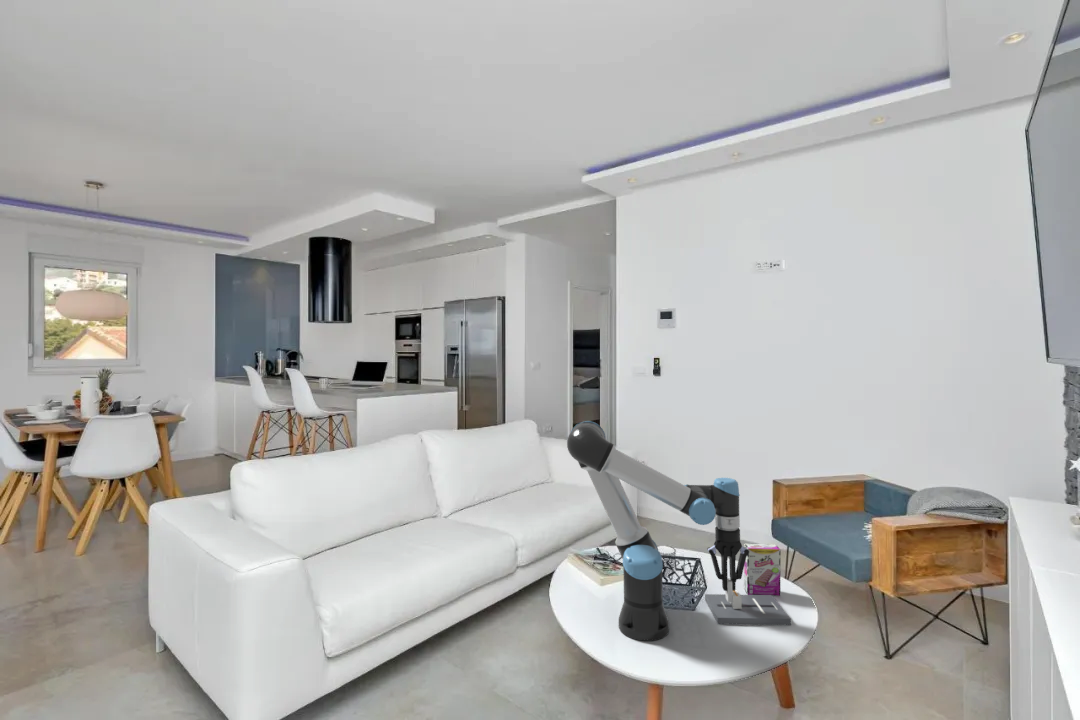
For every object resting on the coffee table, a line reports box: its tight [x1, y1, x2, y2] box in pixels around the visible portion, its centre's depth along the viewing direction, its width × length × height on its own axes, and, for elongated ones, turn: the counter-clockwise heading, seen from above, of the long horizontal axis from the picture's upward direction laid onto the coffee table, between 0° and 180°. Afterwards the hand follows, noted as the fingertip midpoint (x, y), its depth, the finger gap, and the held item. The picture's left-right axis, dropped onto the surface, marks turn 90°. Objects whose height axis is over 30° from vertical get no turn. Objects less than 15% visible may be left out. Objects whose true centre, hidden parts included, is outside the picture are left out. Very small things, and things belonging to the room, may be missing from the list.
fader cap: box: [730, 589, 742, 609], centre depth 171 cm, size 2×5×4 cm, turn 176°
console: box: [704, 593, 792, 626], centre depth 171 cm, size 22×16×2 cm
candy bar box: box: [743, 543, 781, 597], centre depth 184 cm, size 11×5×16 cm, turn 84°
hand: (729, 600), depth 171 cm, fingers closed
